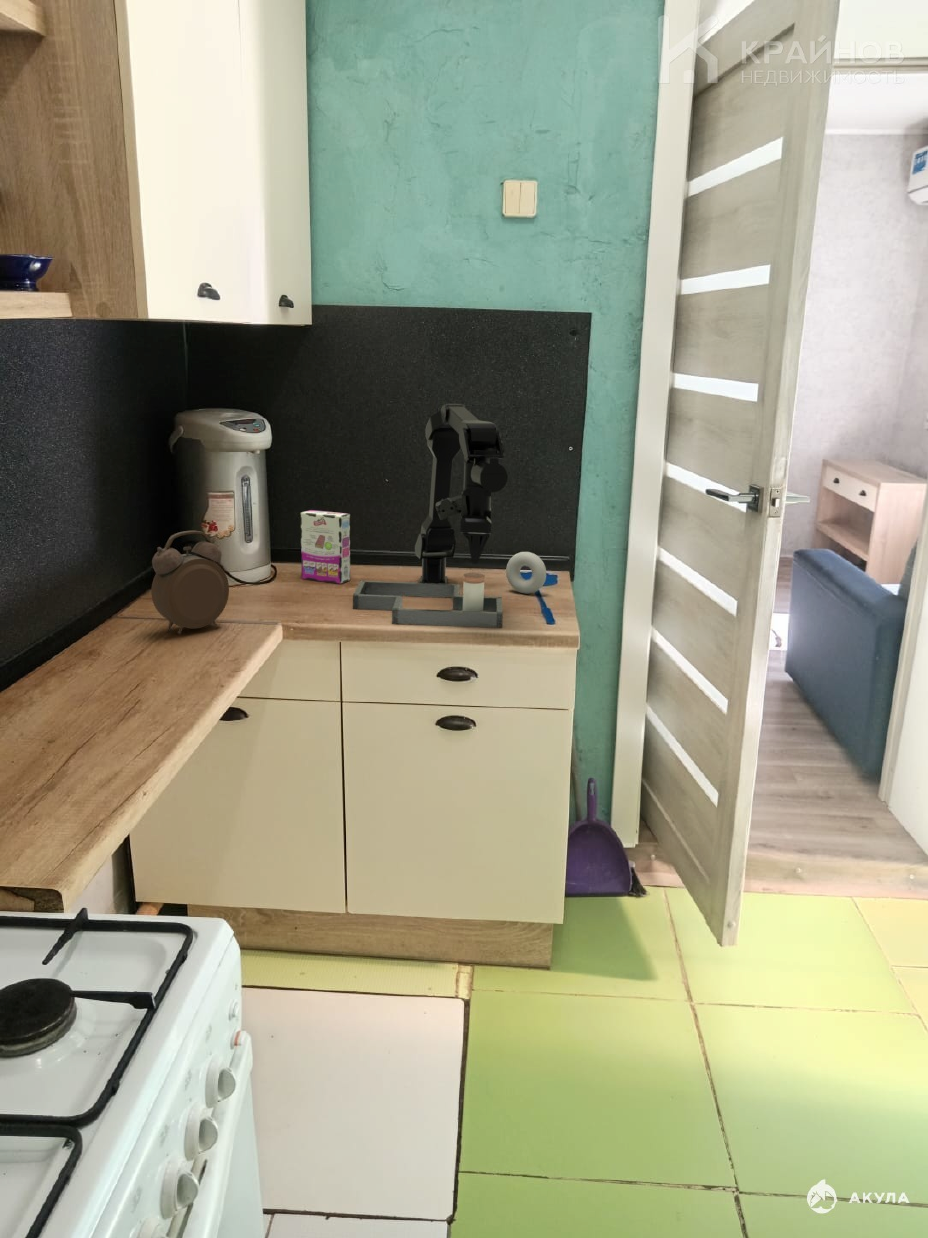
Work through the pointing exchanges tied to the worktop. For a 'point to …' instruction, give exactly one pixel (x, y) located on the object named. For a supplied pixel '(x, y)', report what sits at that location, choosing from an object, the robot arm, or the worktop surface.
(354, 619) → the worktop surface
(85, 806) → the worktop surface
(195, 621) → the alarm clock
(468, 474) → the robot arm
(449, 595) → the channel
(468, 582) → the peg
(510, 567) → the donut
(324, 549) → the candy bar box
